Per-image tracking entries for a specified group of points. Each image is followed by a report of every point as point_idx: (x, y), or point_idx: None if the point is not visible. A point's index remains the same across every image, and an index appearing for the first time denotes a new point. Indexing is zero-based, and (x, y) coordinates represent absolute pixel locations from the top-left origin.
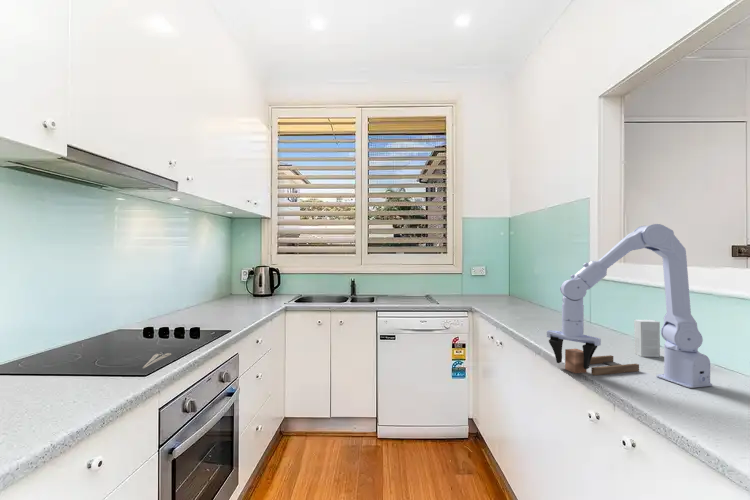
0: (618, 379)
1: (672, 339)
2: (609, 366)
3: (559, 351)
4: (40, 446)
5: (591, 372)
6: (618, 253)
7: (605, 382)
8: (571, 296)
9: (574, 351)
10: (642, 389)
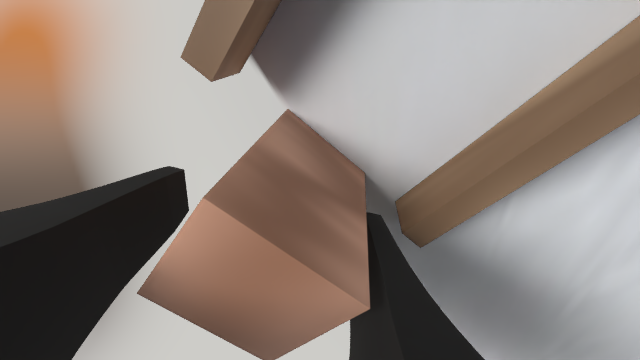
0: (560, 217)
1: None
2: (590, 126)
3: (110, 257)
4: None
5: (397, 208)
6: None
7: (458, 288)
8: None
9: (246, 331)
10: (636, 310)
